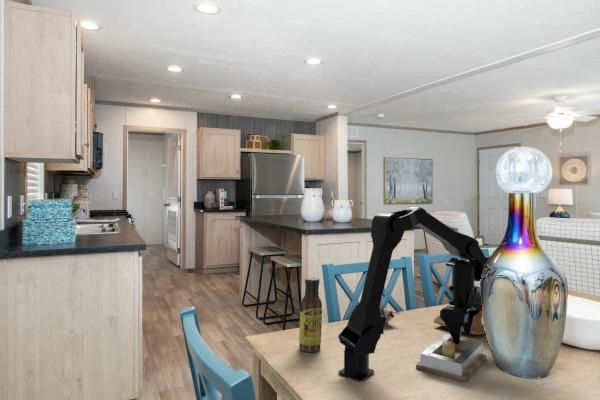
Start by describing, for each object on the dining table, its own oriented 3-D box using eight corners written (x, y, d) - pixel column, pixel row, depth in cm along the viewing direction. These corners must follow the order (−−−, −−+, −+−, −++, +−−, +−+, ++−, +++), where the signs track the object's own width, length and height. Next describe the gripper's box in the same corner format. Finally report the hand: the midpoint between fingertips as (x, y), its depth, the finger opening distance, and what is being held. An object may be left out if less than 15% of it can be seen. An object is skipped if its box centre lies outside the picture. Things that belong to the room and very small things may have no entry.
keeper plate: (465, 382, 93) (465, 357, 93) (415, 368, 101) (416, 344, 101) (486, 358, 107) (486, 336, 107) (441, 347, 115) (441, 326, 115)
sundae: (353, 309, 133) (399, 308, 131) (352, 303, 139) (396, 302, 138) (354, 328, 133) (400, 328, 131) (353, 322, 139) (397, 321, 138)
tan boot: (495, 332, 128) (496, 285, 128) (477, 340, 121) (478, 290, 120) (451, 320, 140) (452, 277, 140) (432, 327, 132) (433, 281, 132)
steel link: (461, 377, 94) (461, 364, 94) (420, 365, 100) (420, 353, 100) (482, 353, 108) (483, 342, 108) (445, 344, 114) (445, 334, 114)
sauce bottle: (303, 354, 109) (303, 281, 109) (296, 346, 115) (296, 276, 115) (325, 351, 111) (325, 280, 111) (316, 343, 117) (317, 275, 117)
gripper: (485, 293, 98) (484, 357, 98) (503, 281, 112) (502, 336, 112) (439, 286, 105) (438, 346, 105) (462, 275, 119) (461, 328, 119)
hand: (462, 339), depth 110 cm, fingers open, 9 cm apart
